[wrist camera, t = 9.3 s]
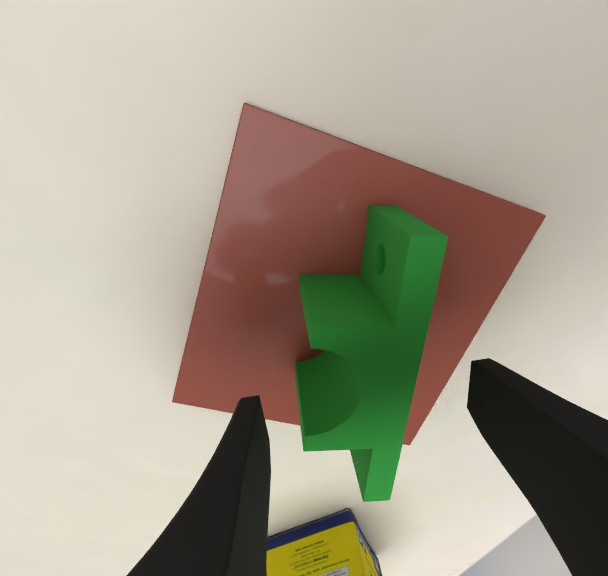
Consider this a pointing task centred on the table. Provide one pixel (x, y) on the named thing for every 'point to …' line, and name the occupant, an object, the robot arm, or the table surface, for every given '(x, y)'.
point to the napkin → (329, 262)
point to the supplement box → (322, 550)
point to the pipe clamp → (369, 346)
